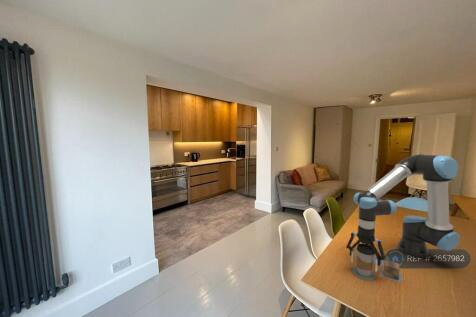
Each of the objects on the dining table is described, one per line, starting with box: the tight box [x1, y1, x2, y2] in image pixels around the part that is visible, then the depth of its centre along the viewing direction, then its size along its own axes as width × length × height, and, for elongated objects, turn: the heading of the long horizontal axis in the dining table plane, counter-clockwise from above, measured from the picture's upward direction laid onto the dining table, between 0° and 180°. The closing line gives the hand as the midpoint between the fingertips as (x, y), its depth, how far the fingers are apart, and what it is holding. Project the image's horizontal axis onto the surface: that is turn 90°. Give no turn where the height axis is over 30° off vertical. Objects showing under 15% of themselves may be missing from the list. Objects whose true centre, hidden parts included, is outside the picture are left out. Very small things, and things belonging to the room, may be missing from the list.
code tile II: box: [379, 267, 403, 284], centre depth 109 cm, size 9×9×1 cm
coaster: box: [351, 266, 377, 282], centre depth 110 cm, size 11×11×1 cm
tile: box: [373, 255, 386, 268], centre depth 123 cm, size 9×9×1 cm
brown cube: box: [383, 259, 400, 280], centre depth 109 cm, size 6×6×6 cm
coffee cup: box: [356, 242, 375, 277], centre depth 110 cm, size 8×8×15 cm
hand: (364, 265), depth 110 cm, fingers open, 10 cm apart
